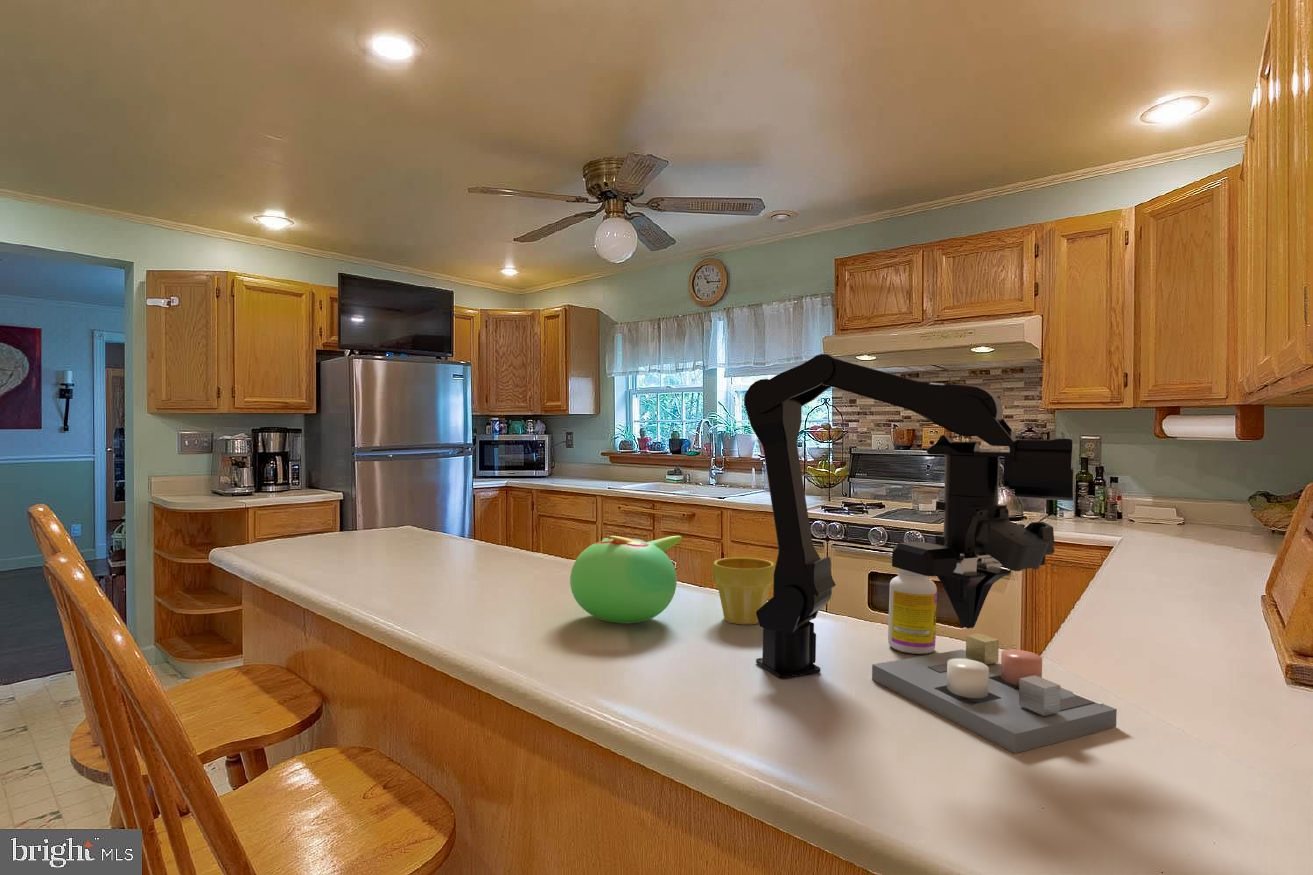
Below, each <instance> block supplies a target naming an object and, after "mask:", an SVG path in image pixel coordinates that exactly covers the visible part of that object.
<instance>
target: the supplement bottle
mask: <svg viewBox="0 0 1313 875" xmlns="http://www.w3.org/2000/svg"><path fill="white" fill-rule="evenodd" d="M896 569H897V573H898V574H897V576H895V577H893V578H892V579H891V580H890V582H889V599H888V600H889V601H888V624H887V625H888V628H887V641H888V645H889V646H890V647H891V648H893V649H894V650H896V651H899V652H903V653H908V654H917V655H928V654H931V653H932V652H934V651H935V649H936V639H937V638H936V633H937V630H936V629H937V604H938V603H937V598H938V597H937V596H938V588H937V585H936V584H935V582H934V581H933V580H931V579H930V578H929V577H930V576H924V575H921V574H917V573H914V572H910V571H906V570H903V569H899V568H896Z"/></svg>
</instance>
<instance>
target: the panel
mask: <svg viewBox="0 0 1313 875" xmlns="http://www.w3.org/2000/svg"><path fill="white" fill-rule="evenodd" d="M956 658H961V659H968V658H966V649H965V650H964V649H956V650H951V651H944V652H938V653H932V654H925V655H921V656H914V657H908V658H904V659H897V660H891V661H885V662H879V663H873V664H871V681H874V682H877V683H878V684H879V685H882V686H883V687H884V688H887V689H889V690H891V691H894V692H895V693H897V694H899V695H900V696H903V697H905V698H907V699H908V700H911V701H912V702H914V703H917V704H918V705H920V706H922V707H924V708H926V709H928V710H930V711H932V712H934V713H935V714H937V715H940V716H942V717H944V718H945V719H948V721H949V720H950V721H951V722H954V723H956V724H957V725H959V726H961V727H964V728H965V729H967V730H969V731H971V732H973V733H975V734H976V735H978V736H981V737H982V738H984V739H986V740H988V741H989V742H992V743H993V744H996V745H998V746H1000V747H1002V748H1004V749H1006V750H1007V751H1009V752H1011V753H1013V754H1018V753H1022V752H1026V751H1029V750H1033V749H1037V748H1041V747H1044V746H1045V747H1046V746H1049V745H1052V744H1056V743H1059V742H1064V741H1067V740H1072V739H1076V738H1079V737H1083V736H1087V735H1091V734H1095V733H1098V732H1099V733H1100V732H1102V731H1106V730H1110V729H1113V728H1117V715H1118V714H1117V708H1115V707H1112V706H1110V705H1106V704H1104V702H1100V701H1099V700H1096V699H1094V698H1091V697H1089V696H1086V695H1084V694H1081V693H1078V692H1074V691H1072V690H1068V689H1066V688H1063V687H1061V686H1060V712H1059V713H1055V714H1051V715H1046V716H1043V715H1040V714H1038V713H1036V712H1033V711H1031V710H1029V709H1027V708H1024V707H1022V706H1020V705H1019V685H1015V684H1012V683H1009V682H1007V681H1005V680H1003V679H1002V678H1001V662H998V663H993V664H987V666H988V667H989V679H988V696H986V697H984V698H968V697H963V696H959V695H956V694H954V693H952V692H950V691H949V690H948V689H947V661H948V660H950V659H956ZM970 660H971V659H970ZM962 699H966V700H968V701H971V702H972V704H968V703H966V702H964V701H962ZM973 703H974V704H973Z"/></svg>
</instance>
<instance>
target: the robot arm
mask: <svg viewBox="0 0 1313 875" xmlns="http://www.w3.org/2000/svg"><path fill="white" fill-rule="evenodd" d="M831 388H835V389H839V390H843V391H846V392H849V393H852V394H855V395H858V396H863V397H866V398H869V399H872V400H875V401H879V402H883V403H885V404H889V405H891V406H893V405H894V406H896V407H900V408H902V409H906V410H909V411H911V412H913V413H915V414H917V415H919V416H921V417H922V418H924V419H926V420H928V421H930V422H932V423H934V424H935V425H938V426H939V427H941V428H944V429H946V430H947V431H949V432H951V433H954V434H956V435H958V436H961V437H971V438H972V437H977V438H979V439H980V440H981V441H983V442H985V443H986V444H988V445H989V446H992V447H1008V448H1009V451H991V450H990V451H989V450H981V446H980V444H979V442H978V441H960V440H959V441H956V440H955V441H954V440H952V439H951V438H950V437H949V436H948V434H941V435H940V436H939V437H938V439H937V441H936V442H935V443H934V444H932V445H931V446H930V447H928V448H927V449H926V453H927V455H931V456H932V455H933V456H934V455H936V456H944V486H943V487H944V498H943V500H936V502H935V503H936V504H935V510H936V511H943V532H942V534H935V538H934V540H935V543H929V542H926V541H920V540H919V541H909V542H897V544H896V545H895V546H894V547H893V548H892V552H891V559H892V560H891V567H892V568H896V569H897V568H899V569H903V570H906V571H910V572H914V573H917V574H921V575H924V576H929V577H932V578H933V577H935V578H936V577H937V578H938V580H939V582H940V584H941V586H942V587H943V589H944V591H945V593H946V595H947V597H948V599H949V601H950V603H951V605H952V608H953V610H954V611H955V614H956V616H957V619H958V621H959V623H960V625H961V627H963V628H966V629H974V628H975V626H976V623H977V621H978V619H979V616H980V614H981V611H982V608H983V606H984V605H985V604H984V603H985V602H986V599H987V596H988V594H989V593H990V591H991V588H992V586H993V585H994V584H995V583H996V582H998V581H999V580H1001V579H1003V578H1004V577H1005V576H1006V577H1007V576H1010V574H1011V573H1012V572H1013V571H1014V572H1022V571H1023V570H1027V569H1033V570H1038V569H1040V567H1041V566H1045V565H1046V556H1048V555H1053V554H1055V547H1054V544H1055V534H1054V527H1053V526H1052V525H1050V524H1049V523H1047V522H1046V521H1045V522H1044V521H1031V522H1030V523H1028V524H1027V525H1025V524H1023V523H1018V524H1017V523H1015V522H1013V521H1011V520H1010V513H1009V512H1010V510H1009V509H1008V506H1007V505H1006V504H999V482H1000V480H999V479H1000V478H999V476H1000V475H999V474H1000V458H1003V459H1004V460H1003V486H1004V488H1005V489H1008V490H1010V491H1011V490H1013V494H1014V497H1015V498H1021V499H1035V500H1036V499H1037V500H1049V501H1050V500H1052V501H1065V502H1066V501H1067V502H1069V501H1071V502H1074V500H1075V486H1076V467H1075V466H1074V440H1073V438H1065V437H1064V438H1063V437H1061V438H1054V439H1024V438H1023V439H1020V438H1019V437H1018V435H1017V434H1016V433H1017V432H1016V430H1013V428H1011V427H1010V426H1009V424H1008V423H1007V422H1006V420H1005V419H1004V418H1003V414H1004V410H1003V404H1002V403H1001V400H1000V399H999V397H998V396H997V395H996V394H994V393H993V392H991V391H989V390H987V389H984V388H981V387H979V386H973V385H962V384H954V383H953V384H952V383H942V382H941V383H938V382H928V381H918V380H914V379H911V378H907V377H903V376H901V375H896V374H894V373H889V372H886V371H882V370H878V369H875V368H872V367H871V368H870V367H867V366H863V365H860V364H857V363H852V362H849V361H845V360H843V359H841V358H839V357H837V356H835V355H834V356H833V355H831V354H827V353H820V354H817V355H815V356H813V357H812V358H810V359H808V360H807V361H805V362H803V363H802V364H799V365H797V366H794V367H792V368H790V369H787V370H785V371H782V372H781V373H777V375H775V376H773V377H771V378H770V379H769V378H763V379H762V378H761V379H757V380H756V381H754V382H753V383H752V384H751V385H750V386H749V387H748V388H747V391H745V393H744V397H743V404H744V409H745V411H746V415H747V418H748V421H749V424H750V428H751V429H752V430H753V432H754V434H755V436H756V437H757V439H758V440H759V441H758V442H759V443H760V445H761V446H762V451H763V455H764V463H765V468H766V474H767V475H766V476H767V482H768V489H769V494H770V502H771V503H770V504H771V508H772V515H773V520H774V521H773V522H774V530H775V534H776V536H775V537H776V541H777V548H778V551H777V557H776V561H775V564H774V579H773V584H772V585H773V586H772V588H773V589H772V590H773V591H772V592H773V594H772V595H773V596H772V597H771V598H770V599H769V600H767V603H765V604H764V605H763V606H762V607H761V608H760V609H758V610H757V611H756V615H757V618H758V622H759V623H758V624H759V627H760V628H761V629H762V657H759V658H756V659H755V663H756V664H758V665H759V666H760V667H763V668H764V669H765V670H767V671H769V672H770V673H772V674H774V675H775V676H776V677H778V678H781V679H785V678H786V679H787V678H792V677H797V676H805V675H809V674H816V673H820V672H821V669H822V668H821V667H820V666H818V665H816V664H815V663H816V662H817V660H816V659H817V658H816V657H817V656H816V655H817V653H816V652H817V634H816V632H815V623H814V622H812V620H815V619H816V618H817V615H818V613H819V611H820V610H821V609H822V608H824V607H825V606H827V604H828V603H829V602H830V600H831V598H832V593H833V591H832V590H833V589H834V588H835V587H836V585H837V584H836V582H835V581H834V578H833V575H832V561H831V557H830V556H826V557H822V558H821V557H820V554H819V553H818V551H817V550H816V548H815V547H814V543H813V539H812V538H813V537H812V531H811V525H810V517H809V513H808V507H807V500H806V492H805V487H804V481H803V474H802V467H801V462H800V454H799V449H798V439H799V435H800V431H801V427H802V426H801V425H802V421H803V420H802V419H803V418H802V414H803V413H802V412H803V411H802V409H803V407H804V406H805V405H807V404H809V403H811V402H812V401H814V400H815V399H817V398H819V396H821V395H822V394H823V393H825V392H826V391H827V390H829V389H831ZM1002 567H1003V568H1002ZM832 588H833V589H832Z"/></svg>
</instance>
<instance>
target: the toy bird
mask: <svg viewBox="0 0 1313 875" xmlns="http://www.w3.org/2000/svg"><path fill="white" fill-rule="evenodd" d="M608 537H609V538H606V537H605V538H602V539H601V541H598V542H595V543H593V544H591V545H589V546H588V547H587V548H585V549H584V550H583V551H582V552H580V554H579V555H578V556H577V557H576V559H575V561H574V563H573V565H572V568H571V571H570V577H569V580H570V581H569V583H570V584H569V585H570V590H571V593H572V596H573V598H574V599H575V601H576V603H577V604H578V605H579V607H581V609H583V610H584V611H585V612H586V613H588V614H589V615H591V616H593V617H595V618H597V619H599V620H602V621H606V622H610V623H616V624H635V623H641V622H645V621H648V620H651V619H653V618H655V617H657V616H658V615H660V614H661V613H662V612H664V610H666V609H667V608H668V607H669V605H670V603H671V602H672V600H673V598H674V596H675V594H676V589H677V582H678V581H677V579H678V578H677V572H676V569H675V566H674V564H673V562H672V560H671V559H670V557H669V556H668V555H667V554H666V553H665V551H667V550H668V549H671V548H672V547H674V546H675V545H676V544H678V543H679V542H680V541H682V539H683V536H681V535H673V536H667V537H666V536H665V537H662V538H658V539H654V540H649V541H645V540H643V539H639V538H630V537H624V536H618V535H609V536H608Z"/></svg>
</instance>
